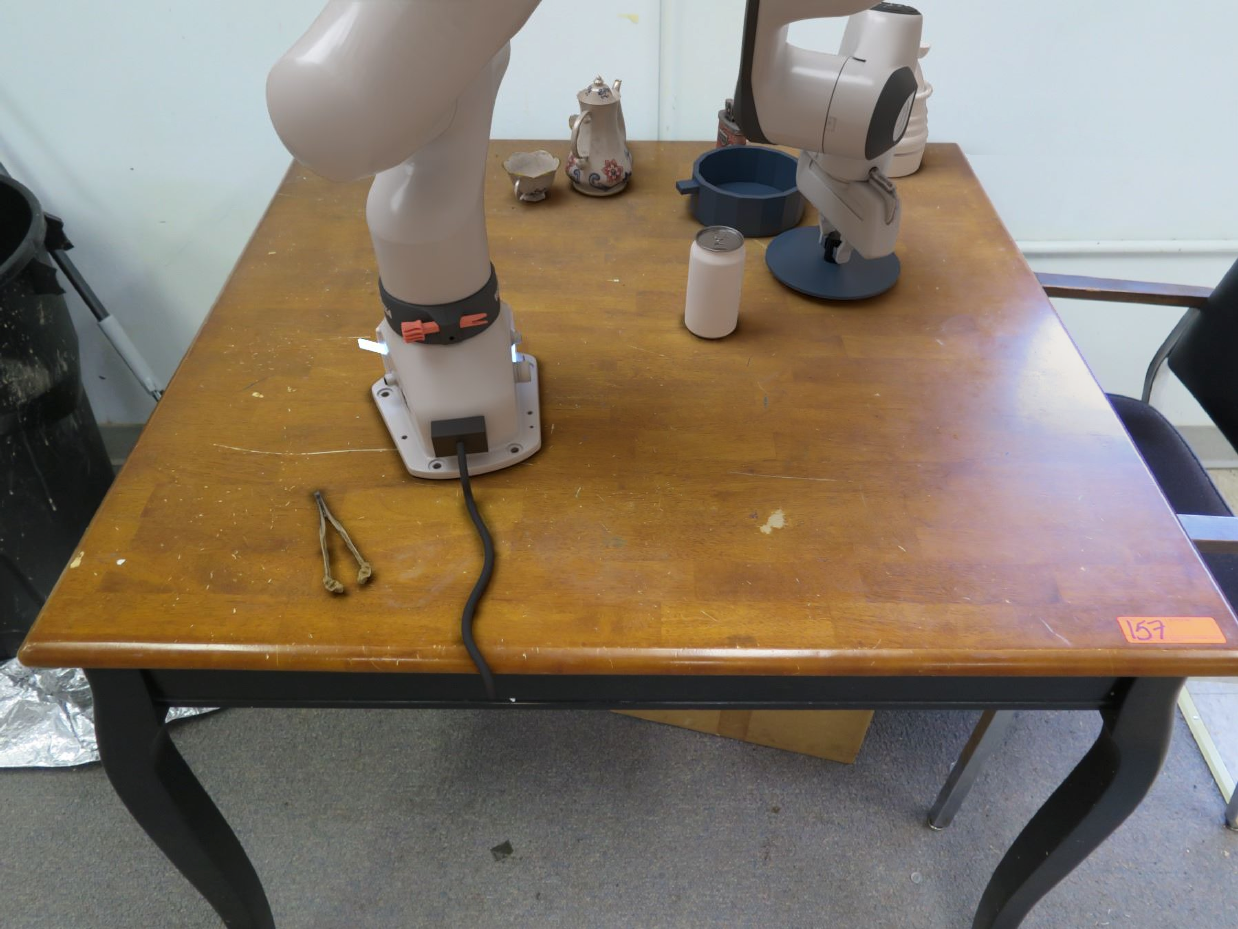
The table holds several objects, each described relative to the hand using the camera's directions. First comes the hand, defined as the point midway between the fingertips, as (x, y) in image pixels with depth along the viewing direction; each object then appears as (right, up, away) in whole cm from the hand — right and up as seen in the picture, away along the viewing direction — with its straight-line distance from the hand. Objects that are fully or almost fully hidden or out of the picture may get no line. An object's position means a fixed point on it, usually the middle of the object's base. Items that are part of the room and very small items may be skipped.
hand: (833, 253), depth 105 cm
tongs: (-56, -36, -31) cm, 73 cm away
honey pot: (+15, +22, +26) cm, 37 cm away
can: (-17, -11, -7) cm, 21 cm away
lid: (0, -1, +1) cm, 1 cm away
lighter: (-11, +21, +24) cm, 33 cm away
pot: (-9, +11, +14) cm, 20 cm away
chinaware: (-34, +17, +20) cm, 43 cm away
